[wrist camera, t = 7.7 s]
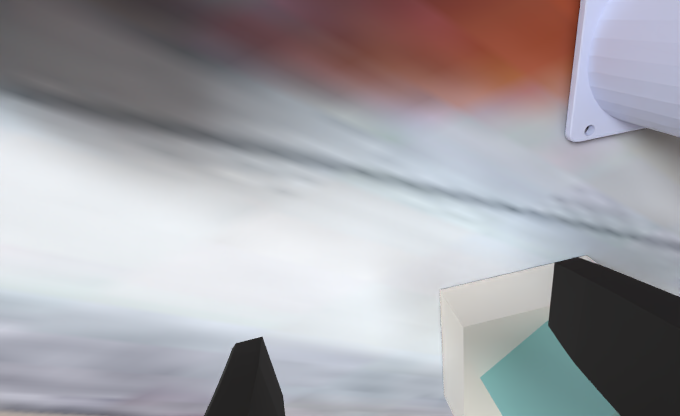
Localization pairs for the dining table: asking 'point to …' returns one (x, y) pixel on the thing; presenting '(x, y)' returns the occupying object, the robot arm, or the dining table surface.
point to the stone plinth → (488, 331)
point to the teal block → (543, 381)
